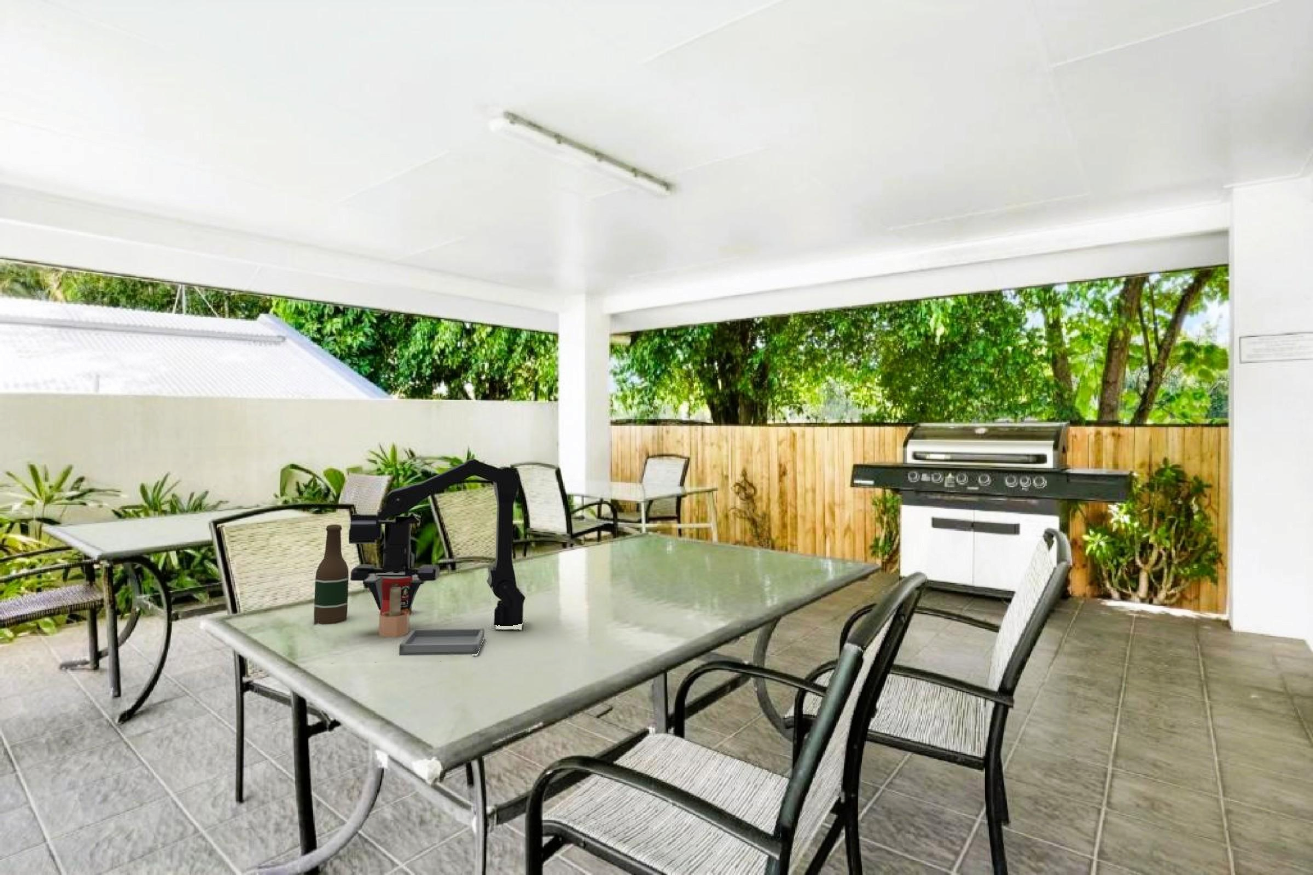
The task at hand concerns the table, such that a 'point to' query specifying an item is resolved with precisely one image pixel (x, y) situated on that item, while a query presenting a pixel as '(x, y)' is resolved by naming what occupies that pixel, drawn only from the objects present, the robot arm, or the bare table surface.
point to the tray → (442, 642)
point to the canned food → (395, 582)
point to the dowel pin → (395, 601)
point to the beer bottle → (331, 582)
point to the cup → (394, 624)
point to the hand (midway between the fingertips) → (394, 609)
